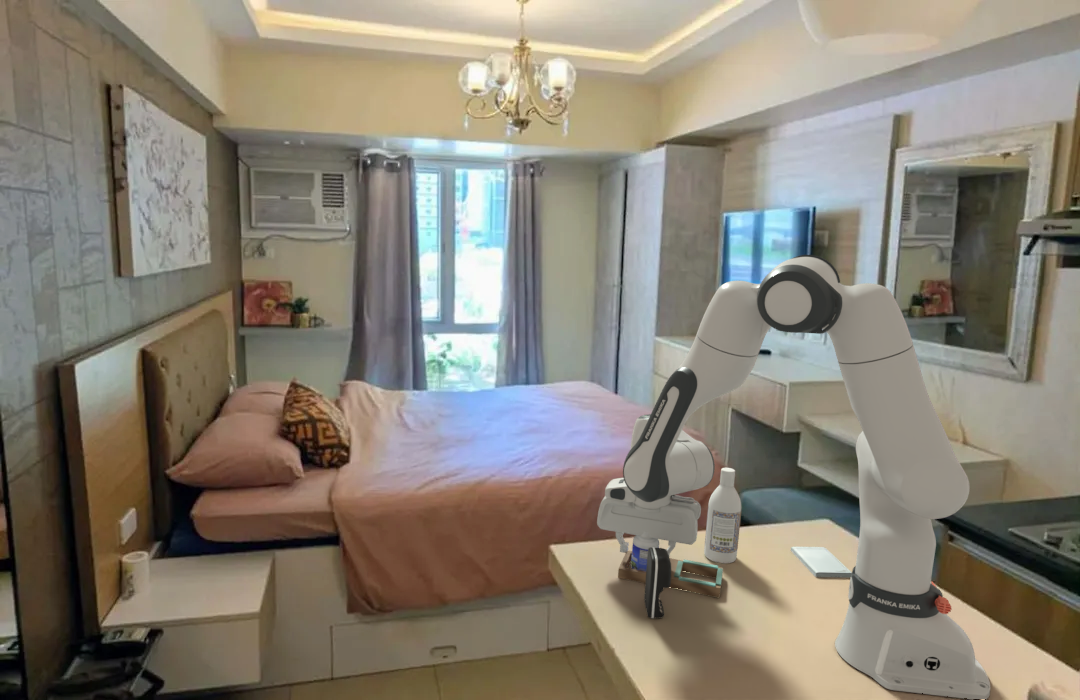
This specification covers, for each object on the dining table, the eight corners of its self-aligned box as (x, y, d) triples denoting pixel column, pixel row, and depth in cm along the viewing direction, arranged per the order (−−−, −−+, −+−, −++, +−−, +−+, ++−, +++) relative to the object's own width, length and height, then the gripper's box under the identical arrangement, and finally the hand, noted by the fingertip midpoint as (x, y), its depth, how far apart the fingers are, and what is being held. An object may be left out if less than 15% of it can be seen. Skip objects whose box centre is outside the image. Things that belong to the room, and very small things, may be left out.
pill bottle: (629, 565, 143) (632, 521, 142) (655, 567, 143) (658, 523, 142) (631, 577, 138) (635, 532, 136) (658, 579, 138) (662, 534, 136)
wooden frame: (722, 577, 140) (723, 566, 140) (719, 597, 132) (720, 586, 131) (626, 559, 146) (627, 549, 146) (617, 577, 138) (618, 567, 137)
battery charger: (668, 621, 122) (673, 561, 121) (647, 619, 123) (652, 560, 121) (663, 601, 129) (668, 544, 128) (643, 599, 130) (648, 543, 128)
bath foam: (742, 563, 147) (751, 474, 144) (712, 565, 145) (721, 475, 142) (726, 549, 153) (735, 464, 150) (698, 550, 152) (706, 464, 149)
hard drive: (853, 573, 143) (825, 546, 155) (815, 572, 142) (790, 545, 154) (852, 580, 143) (824, 553, 155) (815, 579, 142) (790, 552, 155)
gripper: (703, 494, 138) (697, 558, 140) (604, 478, 144) (600, 540, 146) (700, 504, 132) (694, 571, 134) (597, 488, 138) (593, 552, 140)
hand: (644, 555), depth 140 cm, fingers open, 7 cm apart
